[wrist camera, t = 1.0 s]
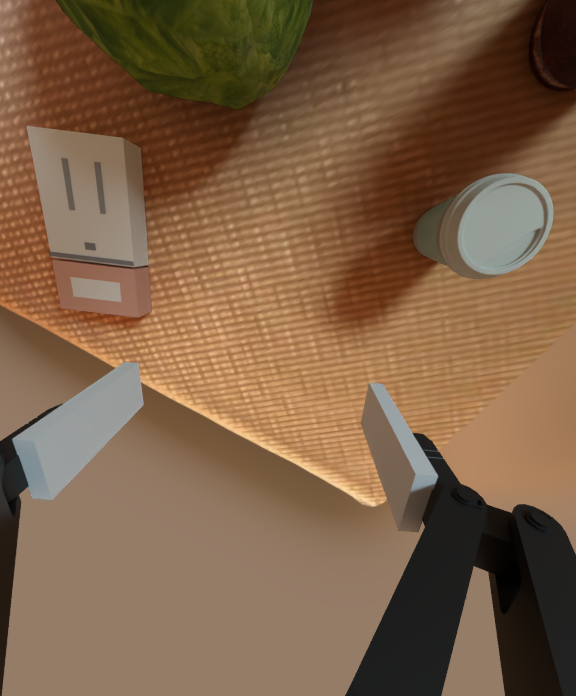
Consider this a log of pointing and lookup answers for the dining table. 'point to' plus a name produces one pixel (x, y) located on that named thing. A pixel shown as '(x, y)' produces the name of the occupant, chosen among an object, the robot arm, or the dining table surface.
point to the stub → (103, 287)
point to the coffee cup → (487, 226)
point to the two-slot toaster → (91, 196)
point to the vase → (555, 45)
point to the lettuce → (197, 43)
